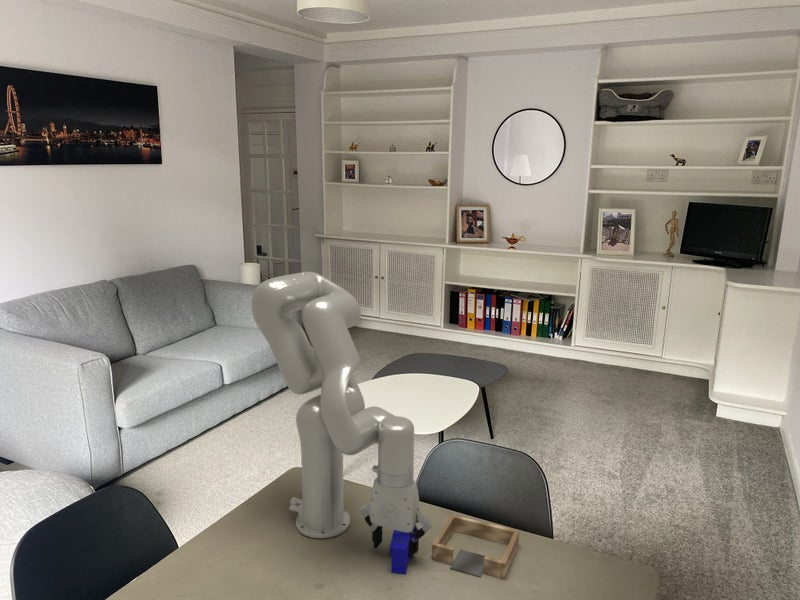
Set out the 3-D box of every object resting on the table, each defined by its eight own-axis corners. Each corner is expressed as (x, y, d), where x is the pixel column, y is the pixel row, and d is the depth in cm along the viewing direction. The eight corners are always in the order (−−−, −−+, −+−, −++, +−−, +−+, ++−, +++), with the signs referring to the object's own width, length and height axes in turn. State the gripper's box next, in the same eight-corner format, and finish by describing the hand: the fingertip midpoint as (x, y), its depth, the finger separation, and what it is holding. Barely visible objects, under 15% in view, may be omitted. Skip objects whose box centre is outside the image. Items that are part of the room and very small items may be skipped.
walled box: (429, 563, 132) (429, 548, 131) (450, 527, 145) (451, 514, 144) (502, 583, 126) (503, 568, 125) (518, 544, 139) (519, 530, 138)
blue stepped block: (394, 538, 141) (394, 515, 139) (414, 541, 140) (414, 517, 139) (384, 572, 129) (384, 546, 128) (405, 574, 128) (405, 549, 127)
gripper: (350, 475, 130) (351, 549, 134) (428, 492, 124) (426, 570, 127) (366, 459, 137) (366, 531, 141) (440, 475, 130) (438, 550, 134)
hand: (395, 549), depth 134 cm, fingers open, 7 cm apart
